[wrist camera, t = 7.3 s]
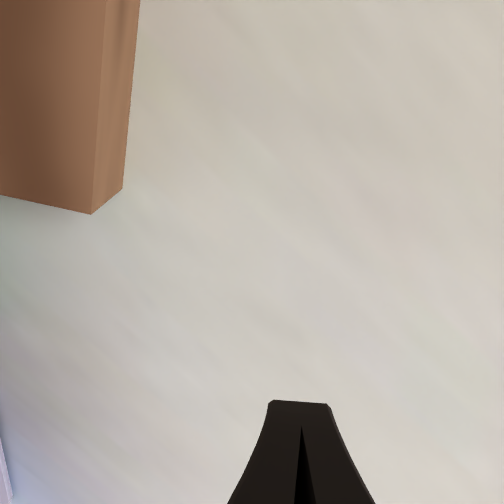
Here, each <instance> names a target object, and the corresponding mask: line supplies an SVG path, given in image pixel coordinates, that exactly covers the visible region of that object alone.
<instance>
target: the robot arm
mask: <svg viewBox="0 0 504 504" xmlns="http://www.w3.org/2000/svg"><path fill="white" fill-rule="evenodd" d="M12 499H13V493H12V488H11V484H10V479H9V475H8V470H7V466H6V461H5V457H4V452H3V448H2V443H1V439H0V504H9V503H10V502H11V500H12ZM227 504H375V502H374V500H373V498H372V497H371V495H370V493H369V491H368V489H367V488H366V486H365V484H364V482H363V480H362V478H361V476H360V474H359V472H358V470H357V469H356V467H355V465H354V463H353V461H352V459H351V457H350V454H349V452H348V450H347V448H346V446H345V444H344V441H343V439H342V437H341V434H340V432H339V430H338V427H337V425H336V422H335V419H334V416H333V414H332V410H331V408H330V407H329V406H328V405H327V404H324V403H310V402H297V401H283V400H272V401H271V402H270V403H268V409H267V414H266V418H265V421H264V425H263V428H262V431H261V433H260V436H259V439H258V441H257V444H256V446H255V448H254V451H253V453H252V455H251V457H250V460H249V462H248V464H247V466H246V469H245V471H244V473H243V475H242V477H241V479H240V481H239V482H238V484H237V486H236V488H235V490H234V492H233V494H232V496H231V497H230V499H229V501H228V503H227Z"/></svg>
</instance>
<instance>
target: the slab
mask: <svg viewBox="0 0 504 504" xmlns="http://www.w3.org/2000/svg"><path fill="white" fill-rule="evenodd" d="M139 8H140V0H0V195H4V196H9V197H13V198H18V199H22V200H27V201H32V202H36V203H41V204H45V205H50V206H54V207H59V208H63V209H68V210H72V211H77V212H81V213H86V214H90V215H91V214H92V213H94V212H95V211H96V210H97V209H98V208H100V207H101V206H102V205H103V204H104V203H106V202H107V201H108V200H109V199H110V198H112V197H113V196H114V195H115V194H116V193H118V192H119V191H120V190H121V189H122V185H123V175H124V164H125V154H126V143H127V133H128V122H129V112H130V102H131V91H132V81H133V70H134V60H135V50H136V39H137V29H138V18H139Z"/></svg>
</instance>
